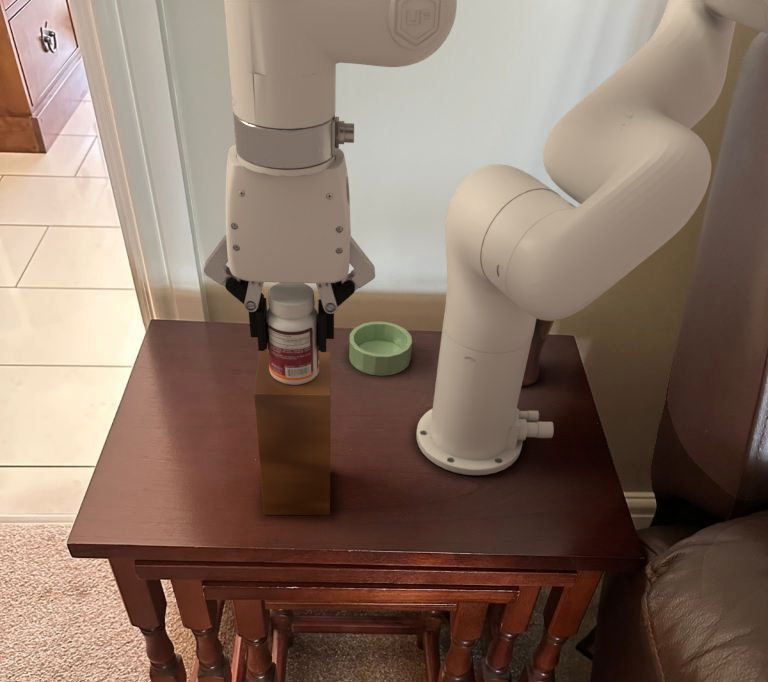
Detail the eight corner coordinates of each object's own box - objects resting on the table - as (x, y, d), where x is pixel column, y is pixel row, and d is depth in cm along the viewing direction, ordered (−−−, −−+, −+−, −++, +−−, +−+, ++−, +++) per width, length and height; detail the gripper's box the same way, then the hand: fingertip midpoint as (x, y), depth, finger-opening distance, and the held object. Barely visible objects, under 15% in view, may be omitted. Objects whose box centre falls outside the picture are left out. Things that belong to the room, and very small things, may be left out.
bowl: (408, 341, 107) (409, 322, 105) (412, 376, 102) (414, 357, 99) (348, 339, 107) (349, 320, 105) (349, 375, 101) (349, 355, 99)
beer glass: (540, 392, 100) (565, 288, 90) (486, 384, 101) (505, 279, 90) (543, 362, 105) (567, 259, 95) (492, 354, 106) (510, 251, 95)
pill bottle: (285, 351, 76) (281, 273, 70) (328, 366, 75) (328, 287, 69) (259, 376, 73) (253, 297, 67) (303, 392, 72) (301, 312, 66)
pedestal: (330, 471, 88) (330, 351, 77) (329, 515, 83) (330, 394, 72) (268, 470, 88) (259, 350, 76) (264, 515, 83) (253, 393, 71)
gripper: (394, 123, 62) (383, 323, 75) (178, 115, 61) (204, 319, 74) (400, 161, 57) (386, 368, 70) (163, 152, 55) (194, 365, 68)
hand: (293, 341), depth 71 cm, fingers closed on pill bottle, 4 cm apart
